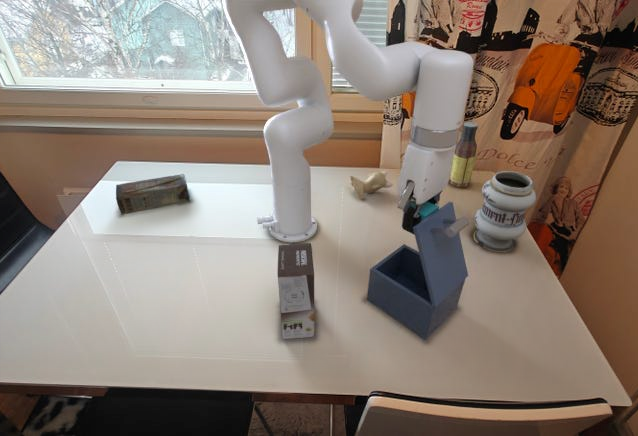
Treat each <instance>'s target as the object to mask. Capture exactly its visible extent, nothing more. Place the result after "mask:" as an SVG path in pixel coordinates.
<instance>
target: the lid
mask: <svg viewBox="0 0 638 436" xmlns="http://www.w3.org/2000/svg"><path fill="white" fill-rule="evenodd" d="M469 225H470V219H469V217H468V216H465V215H462V216H461V215H460V217H459V218H457V216H456V211H455V206H454V202H453V201H448V202H447V203H445V204H444V205H442V206H441V207H439V209H438V210H437V211H436V212H434V213H433V214H431V215H430V216H429V217H427V218H426V219H424V220H423V221H422V222H420V223H419V224H417V225H416V226H414V227H413V230H414V234H415V235H414V234H413V235H414V238H415V242H416V247H417V251H418V252H419V255H420V259H421V263H422V267H423V271H424V275H425V279H426V283H427V287H428V291H429V295H430V299H431V303H432V306H433V307H437V306H438V305H439V304H440V303H441V302H442V301H443V300H444V299H445V298H446V297H447V296H448V295H449V294H450V293H451V292H452V291H453V290H454V289H455V288H456V287H457V286H458V285H459V284H460V283H461V282H462V281H463V280H464V279H465V278H466V279H467V278H468V277H469V271H468V267H467V262H466V258H465V254H464V248H463V245H462V240H461V239H462V238H461V235H460V233H461V231H463V230H464V229H465V228H467V226H469ZM466 279H465V280H466Z"/></svg>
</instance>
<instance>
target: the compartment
mask: <svg viewBox="0 0 638 436" xmlns="http://www.w3.org/2000/svg"><path fill="white" fill-rule="evenodd" d="M368 274H369V275H368V284H367V295H366V301H367V302H369V303H371V304H372V305H374V307H377V308H378V309H379V310H381V311H382V312H383V313H385V314H387V315H388V316H389V317H391V318H392V319H394V320H395V321H396V322H398V323H399V324H401V325H403V326H404V327H405V328H407V329H408V330H410V331H411V332H412V333H414V334H416V336H418V337H420V338H422V339H423V340H424V341H427V340H429V338H430V337H431V336H432V335H433V334H434V333H435V332H436V331H437V330H438V329H439V327H441V325H442V324H443V323H445V321H446V320H447V319H448V318H449V317H450V316H451V315H452V314H453V313H454V312H455V311H456V310H458V309H457V308H458V305H459V301H460V299H461V295H462V292H463V289H464V285H465V282H466V279H467V278H465V279H464V280H463V281H462V282H461V283H460V284H459V285H458V286H457V287H456V288H455V289H454V290H453V291H452V292H451V293H450V294H449V295H448V296H447V297H446V298H445V299H444V300H443V301H442V302H441V303H440V304H439V305H438V306H437V307H433V306H432V303H431V299H430V295H429V291H428V287H427V283H426V279H425V275H424V271H423V267H422V263H421V259H420V255H419V251H418V250H416V249H414V248H413V247H411V246H409V245H407V244H405V243H404V244H402V245H401V246H399V247H398V248H397V249H395V250H394V251H392V252H390V254H388V255H387V256H386V257H384V258H382V260H380V261H379V262H377V263H376V264H375V265H374V266H372V267H371V268H369V273H368Z"/></svg>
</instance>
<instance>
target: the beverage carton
mask: <svg viewBox="0 0 638 436" xmlns="http://www.w3.org/2000/svg"><path fill="white" fill-rule="evenodd" d="M190 197H191V196H190V192H189V188H188V182H187V177H186V175H185V174H184V173H181V174H175V175H167V176H162V177H155V178H149V179H143V180H137V181H130V182H125V183H120V184H116V186H115V200H116V203H117V206H118V210H119V212H120V215H122V216H123V215H124V216H125V215H128V214H134V213H138V212H143V211H149V210H155V209H159V208H165V207H171V206H175V205H182V204H185V203H190V202H191V198H190Z"/></svg>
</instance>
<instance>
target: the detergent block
mask: <svg viewBox="0 0 638 436" xmlns="http://www.w3.org/2000/svg"><path fill="white" fill-rule="evenodd" d="M416 205H417V204H415V203H413V202H411V205H410V206H412V207H414V208H415V209H416ZM438 209H440V206H439V205H438V204H436V205H434V204H432V203H430V202H427V201H426V202H424V203H423V205H422V209H421V212H420V215H419V216H421V222H422V221H423V220H424V219H426V218H427V217H429V216H430V215H431V214H433V213H434V212H436V211H437V210H438ZM402 213H403V215H402V221H401V227H402V226H403V219H404V212H402Z"/></svg>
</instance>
